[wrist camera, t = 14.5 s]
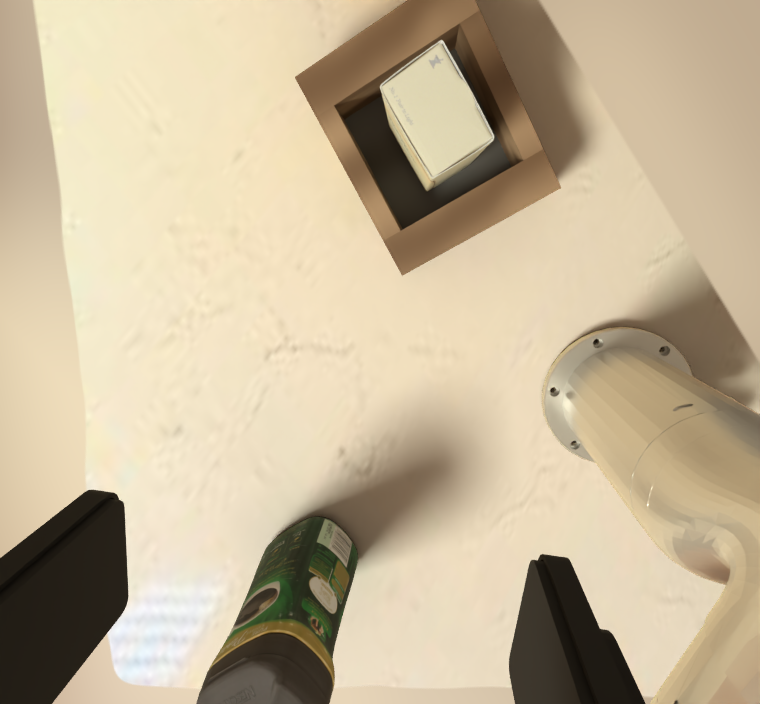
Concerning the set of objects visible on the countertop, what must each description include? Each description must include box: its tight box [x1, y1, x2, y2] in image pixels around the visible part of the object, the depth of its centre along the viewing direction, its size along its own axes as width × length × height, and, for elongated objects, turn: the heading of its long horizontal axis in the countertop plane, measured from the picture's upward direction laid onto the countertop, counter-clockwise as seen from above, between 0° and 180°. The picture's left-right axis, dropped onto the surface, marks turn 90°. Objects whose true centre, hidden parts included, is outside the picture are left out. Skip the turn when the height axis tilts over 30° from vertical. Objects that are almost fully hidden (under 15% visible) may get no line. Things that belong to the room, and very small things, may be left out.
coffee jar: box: [197, 517, 358, 704], centre depth 41 cm, size 10×8×19 cm
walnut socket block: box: [295, 0, 561, 275], centre depth 37 cm, size 16×13×5 cm
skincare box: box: [380, 40, 494, 192], centre depth 33 cm, size 6×4×12 cm
